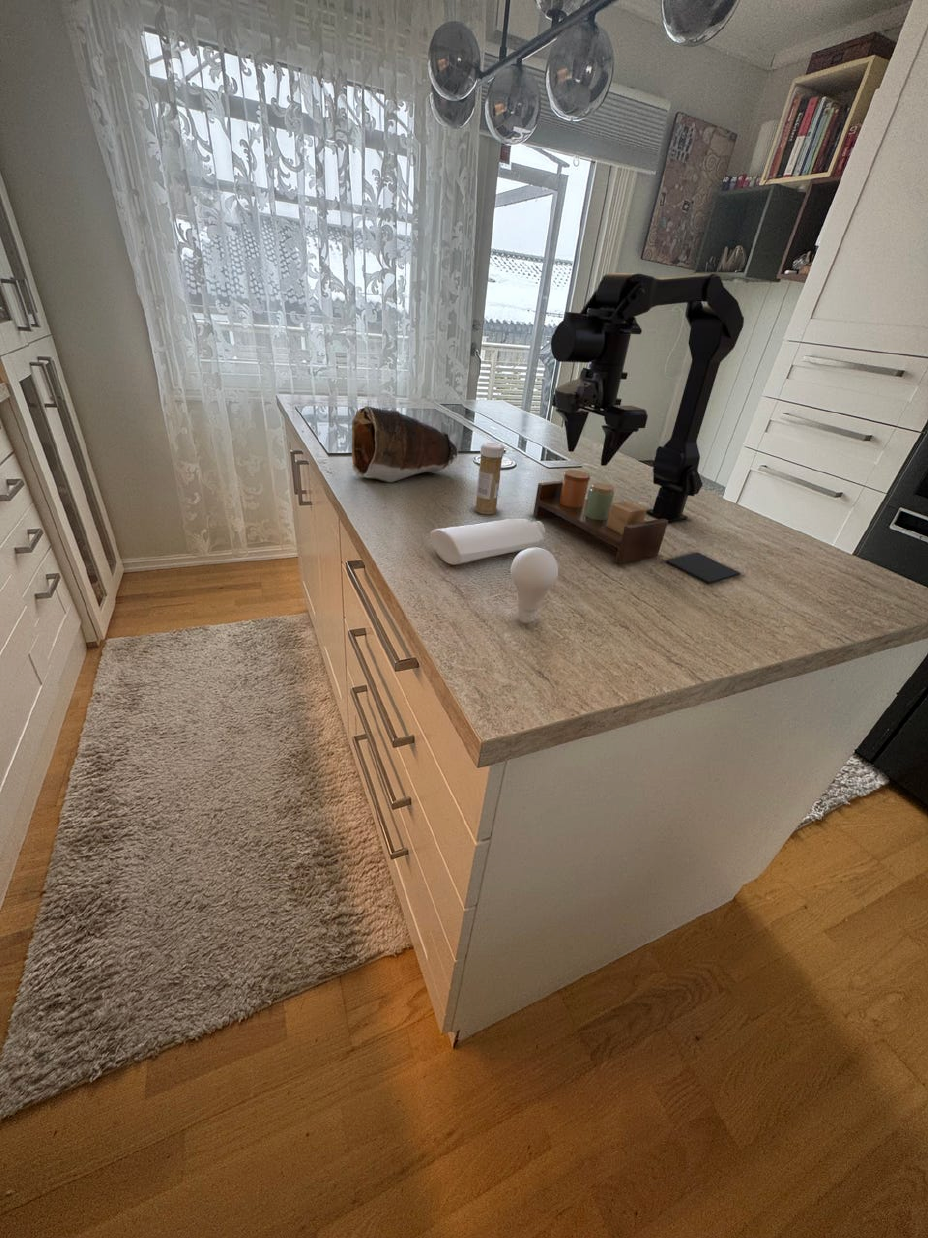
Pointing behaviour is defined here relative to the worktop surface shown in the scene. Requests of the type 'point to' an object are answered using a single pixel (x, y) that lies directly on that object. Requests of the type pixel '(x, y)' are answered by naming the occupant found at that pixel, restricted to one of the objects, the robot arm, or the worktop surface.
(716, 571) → the black rubber mat
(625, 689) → the worktop surface
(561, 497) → the copper tin
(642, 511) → the oak block
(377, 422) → the clay pot
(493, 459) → the sprinkles bottle
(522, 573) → the lightbulb
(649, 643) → the worktop surface
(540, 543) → the squeeze bottle
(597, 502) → the sage jar
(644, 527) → the walnut shelf
